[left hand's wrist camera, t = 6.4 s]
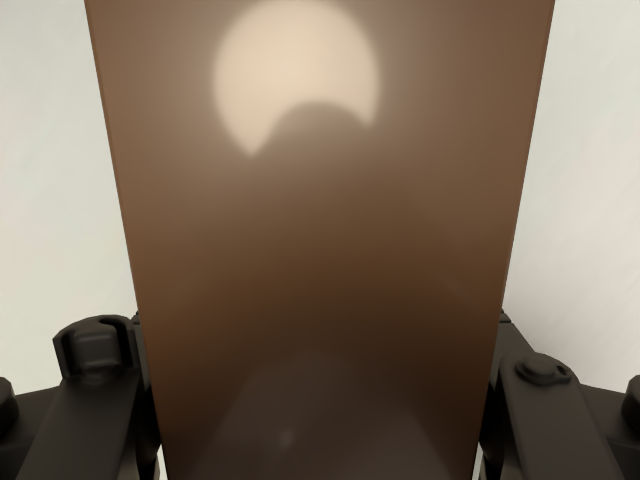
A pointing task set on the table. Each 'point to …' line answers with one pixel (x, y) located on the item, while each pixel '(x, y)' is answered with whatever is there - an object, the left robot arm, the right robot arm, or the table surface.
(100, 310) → the table surface
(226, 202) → the bar
